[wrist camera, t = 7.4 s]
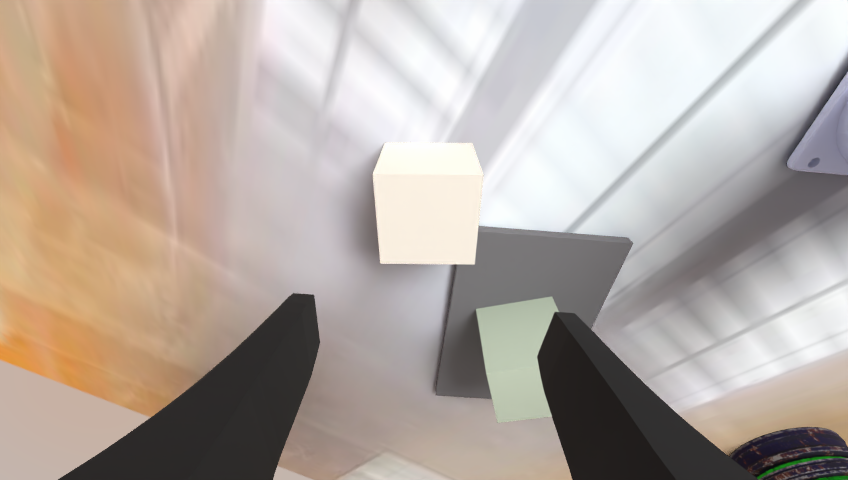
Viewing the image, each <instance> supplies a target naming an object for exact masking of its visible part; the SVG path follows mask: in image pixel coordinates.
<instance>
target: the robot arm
mask: <svg viewBox="0 0 848 480" xmlns="http://www.w3.org/2000/svg"><path fill="white" fill-rule="evenodd" d="M811 160H812V161H811ZM810 161H811V162H810ZM809 162H810V163H809ZM787 166H788V168H790V169H793V170H796V171H804V172H816V173H827V174H839V175H848V72H847V74H846V75H845V76H844V78H843V79H842V81H841V82H840V84H839V85H838V87H837V88H836V90H835V91H834V93H833V94H832V96H831V97H830V99H829V100H828V101H827V103H826V104H825V106H824V107H823V109H822V110H821V112H820V113H819V115H818V116H817V118H816V119H815V121H814V122H813V124H812V125H811V127H810V128H809V129H808V131H807V132H806V134H805V135H804V137H803V138H802V140H801V141H800V143H799V144H798V146H797V147H796V149H795V150H794V152H793V153H792V154H791V156H790V157H789V159H788V161H787ZM319 344H320V339H319V331H318V323H317V315H316V307H315V299H314V295H309V294H295V293H293V294H292V295H291V296H289V297H288V298H287V299H286V300H285V301H284V302H283V303H282V304H281V305H280V306H279V307H278V308H277V309H276V310H275V311H274V312H273V313H272V314H271V315H270V316H269V317H268V318H267V319H266V320H265V321H264V322H263V323H262V324H261V325H260V326H259V327H258V328H257V329H256V330H255V331H254V332H253V333H252V334H251V335H250V336H249V337H248V338H247V339H246V340H244V341H243V342H242V343H241V344H240V345H239V346H238V347H237V348H236V349H235V350H234V351H233V352H232V353H230V354H229V355H228V356H227V357H226V358H225V359H224V360H222V361H221V362H220V363H219V364H218V365H217V366H215V367H214V368H213V369H212V370H211V371H210V372H209V373H207V374H206V375H205V376H204V377H203V378H201V379H200V380H199V381H198V382H197V383H195V384H194V385H193V386H192V387H190V388H189V389H188V390H187V391H185V392H184V393H183V394H182V395H180V396H179V397H178V398H176V399H175V400H174V401H172V402H171V403H170V404H169V405H167V406H166V407H165V408H163V409H162V410H161V411H159V412H158V413H157V414H155V415H154V416H152V417H151V418H150V419H148V420H147V421H145V422H144V423H143V424H141V425H140V426H138V427H137V428H136V429H134V430H133V431H131V432H130V433H128V434H127V435H126V436H124V437H123V438H121V439H120V440H118V441H117V442H115V443H114V444H112V445H111V446H109V447H108V448H107V449H105V450H104V451H102V452H101V453H99V454H98V455H96V456H95V457H93V458H91V459H90V460H88V461H87V462H85V463H84V464H82V465H80V466H79V467H77V468H76V469H74V470H72V471H71V472H69V473H68V474H66V475H64V476H63V477H61V478H60V479H58V480H273V477H274V473H275V470H276V468H277V465H278V462H279V459H280V456H281V453H282V450H283V448H284V445H285V443H286V440H287V438H288V435H289V432H290V430H291V427H292V425H293V422H294V419H295V417H296V414H297V412H298V409H299V407H300V404H301V401H302V399H303V396H304V394H305V391H306V388H307V386H308V383H309V380H310V378H311V375H312V371H313V367H314V364H315V360H316V356H317V352H318V348H319ZM537 360H538V365H539V371H540V376H541V381H542V385H543V390H544V393H545V396H546V399H547V403H548V406H549V409H550V412H551V415H552V418H553V421H554V424H555V427H556V430H557V433H558V436H559V439H560V442H561V445H562V448H563V451H564V454H565V457H566V460H567V463H568V466H569V469H570V473H571V476H572V479H573V480H759V479H758V478H756V477H755V476H754V475H752V474H751V473H750V472H748V471H747V470H746V469H744V468H743V467H742V466H740V465H739V464H738V463H736V462H735V461H734V460H733V459H731V458H730V457H729V456H727V455H726V454H725V453H724V452H722V451H721V450H720V449H719V448H717V447H716V446H715V445H714V444H713V443H711V442H710V441H709V440H708V439H707V438H705V437H704V436H703V435H702V434H700V433H699V432H698V431H697V430H696V429H694V428H693V427H692V426H691V425H690V424H688V423H687V422H686V421H685V420H684V419H683V418H682V417H680V416H679V415H678V414H677V413H676V412H675V411H674V410H672V409H671V408H670V407H669V406H668V405H667V404H666V403H665V402H664V401H663V400H662V399H660V398H659V397H658V396H657V395H656V394H655V393H654V392H653V391H652V390H651V389H650V388H649V387H648V386H646V385H645V384H644V383H643V382H642V381H641V380H640V379H639V378H638V377H637V376H636V375H635V374H634V373H633V372H632V371H631V370H630V369H629V368H628V367H627V366H626V365H625V364H624V363H623V362H622V361H621V360H620V359H619V358H618V357H617V356H616V355H615V354H614V353H613V352H612V351H611V350H610V349H609V348H608V347H607V346H606V345H605V344H604V343H603V342H602V340H601V339H600V338H599V337H598V336H597V335H596V334H595V333H594V332H593V331H592V330H591V329H590V328H589V327H588V326H587V325H586V324H585V323H584V322H583V321H582V320H581V319H580V318H579V317H578V316H577V315H576V314H575V313H566V312H554V315H553V317H552V320H551V322H550V325H549V327H548V330H547V332H546V335H545V337H544V340H543V342H542V345H541V348H540V350H539V353H538V355H537Z"/></svg>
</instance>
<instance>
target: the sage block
mask: <svg viewBox="0 0 848 480" xmlns="http://www.w3.org/2000/svg"><path fill="white" fill-rule="evenodd" d="M554 312H559V311H558V309H557V306H556V304H555V302H554V300H553V298H552V297H545V298H539V299H533V300H527V301H521V302H515V303H509V304H503V305H497V306H491V307H485V308H478V309H476V313H477V319H478V325H479V331H480V338H481V344H482V350H483V356H484V363H485V369H486V375H487V379H488V383H489V388H490V392H491V396H492V401H493V405H494V410H495V414H496V418H497V423H502V422H510V421H519V420H528V419H536V418H545V417H552V415H551V412H550V409H549V406H548V403H547V399H546V396H545V393H544V390H543V385H542V381H541V376H540V371H539V365H538V360H537V355H538V353H539V350H540V348H541V345H542V342H543V340H544V337H545V335H546V332H547V330H548V327H549V325H550V322H551V320H552V317H553V315H554Z"/></svg>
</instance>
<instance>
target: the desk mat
mask: <svg viewBox="0 0 848 480" xmlns="http://www.w3.org/2000/svg"><path fill="white" fill-rule="evenodd" d="M632 245H633V243H632V242H631V240H630V239H629V238H623V237H611V236H598V235H585V234H572V233H560V232H547V231H534V230H521V229H509V228H496V227H483V226H478V236H477V246H476V256H475V265H472V264H456V267H455V273H454V279H453V286H452V292H451V298H450V304H449V310H448V316H447V322H446V328H445V334H444V341H443V347H442V353H441V359H440V365H439V371H438V377H437V383H436V395H438V396H454V397H470V398H486V399H492V396H491V392H490V388H489V383H488V379H487V375H486V369H485V363H484V356H483V350H482V344H481V338H480V331H479V325H478V319H477V313H476V309H478V308H485V307H491V306H497V305H503V304H509V303H515V302H521V301H527V300H533V299H539V298H545V297H552V298H553V300H554V302H555V304H556V306H557V309H558V311H559V312H566V313H575V314H576V315H577V316H578V317H579V318H580V319H581V320H582V321H583V322H584V323H585V324H586V325H587V326H588V327H589V328H590V329H591V328H592V326H593V324H594V322H595V320H596V318H597V316H598V314H599V312H600V310H601V307H602V305H603V303H604V301H605V299H606V297H607V295H608V293H609V291H610V289H611V287H612V285H613V283H614V281H615V279H616V277H617V275H618V273H619V271H620V269H621V267H622V265H623V263H624V261H625V259H626V257H627V255H628V253H629V251H630V249H631V247H632Z"/></svg>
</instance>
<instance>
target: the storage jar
mask: <svg viewBox="0 0 848 480" xmlns="http://www.w3.org/2000/svg"><path fill="white" fill-rule="evenodd" d="M730 458H731V459H733V460H734V461H735V462H736V463H738V464H739V465H740V466H742V467H743V468H744V469H746V470H747V471H748V472H750V473H751V474H752V475H754V476H755V477H756V478H758V479H759V480H848V447H847V445H846V443H845V441H844V440H843V439H842V438H841V437H840V436H839V435H838V434H837V433H835V432H834V431H832V430H828V429H824V428H816V427H804V428H793V429H787V430H782V431H778V432H774V433H770V434H767V435H764V436H761V437H759V438H756V439H754V440H752V441H749V442H747V443H746V444H744V445H742V446H741V447H739V448H738V449H736V450H735V451H734V452H733V453H732V454H731V455H730Z"/></svg>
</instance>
